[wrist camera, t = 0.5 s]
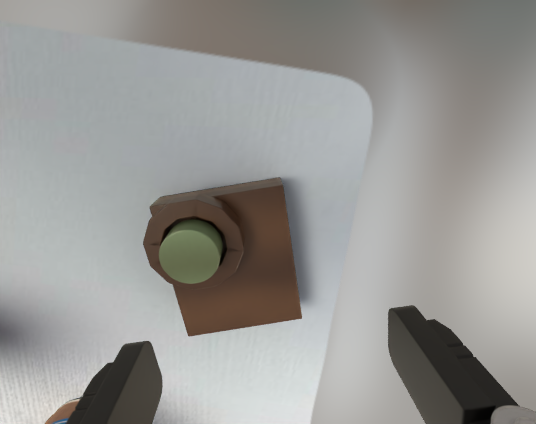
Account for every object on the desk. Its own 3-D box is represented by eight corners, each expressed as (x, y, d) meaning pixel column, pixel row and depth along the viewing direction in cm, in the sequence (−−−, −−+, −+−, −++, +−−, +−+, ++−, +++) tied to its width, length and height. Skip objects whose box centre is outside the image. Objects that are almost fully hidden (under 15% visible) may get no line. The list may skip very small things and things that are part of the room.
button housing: (152, 192, 25) (131, 209, 20) (279, 171, 24) (284, 184, 20) (189, 317, 29) (178, 353, 24) (297, 300, 29) (305, 333, 24)
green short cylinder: (160, 223, 21) (151, 235, 19) (216, 214, 21) (212, 225, 19) (174, 273, 22) (167, 288, 21) (227, 264, 22) (225, 279, 21)
